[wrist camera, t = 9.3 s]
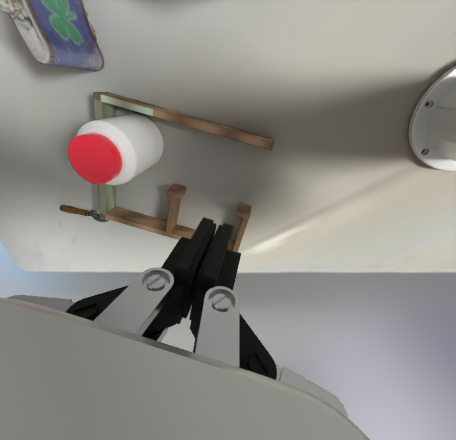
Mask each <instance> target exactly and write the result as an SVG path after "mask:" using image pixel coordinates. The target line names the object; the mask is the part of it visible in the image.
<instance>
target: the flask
mask: <svg viewBox="0 0 456 440" xmlns="http://www.w3.org/2000/svg"><path fill="white" fill-rule="evenodd" d="M83 2H84V1H83V0H0V10H1V11H3V12H6V13H8V15H10V16H11V18H12V20H13V22H14V24H15V25H16V27H17V30H18V32H19V33H20V35H21V36H22V38H23V40H24V41H25V43H26V45H27V47H28V49H29V50H30V51H31V53H32V55H33V56H34V58H35V59H36V60H37V61H38V62H40V63H41V64H44V65H52V66H63V67H71V68H80V69H88V70H94V71H98V70H101V69H102V68H103V67H104V62H103V56H102V52H101V50H100V49H99V47H98V44H97V40H96V36H95V31H94V30H93V27H92V25H90V23H89V21H88V19H87V15H88V14H87V12H86V11H85V9H84V6H83Z"/></svg>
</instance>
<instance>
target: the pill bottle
mask: <svg viewBox="0 0 456 440" xmlns="http://www.w3.org/2000/svg"><path fill="white" fill-rule="evenodd" d="M163 149H164V143H163V138H162V135H161V133H160V131H159V129H158V127H157V126H156V125H155V124H154V123H153V122H152V121H151V120H150V119H148V118H147V117H145V116H143V115H140V114H126V115H121V116H115V117H110V118H104V119H99V120H94V121H90V122H87V123H86V124H84V125H83V126H82V127H81V128H80V129H79V131H78V133H77V135H76V137H75V138H73V140H72V141H71V142H70V144H69V148H68V155H69V159H70V162H71V164H72V166H73V168H74V169H75V171H76V172H77V173H78V174H79V175H80V176H81V177H82V178H84V179H85V180H87V181H89V182H91V183H95V184H104V183H105V184H109V185H121V184H124V183H126V182H128V181H130V180H131V179H133V178H134V177H136V176H137V175H139V174H140V173H142V172H143V171H145V170H146V169H148V168H149V167H151V166H153V165H154V164H155V163H157V162H158V161H159V159H160V158H161V156H162V154H163Z"/></svg>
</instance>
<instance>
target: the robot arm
mask: <svg viewBox="0 0 456 440" xmlns="http://www.w3.org/2000/svg"><path fill="white" fill-rule="evenodd" d="M426 102H427V105H426V106H425V103H426ZM408 137H409V143H410V146H411V149H412V151H413V153H414V154H415V155H416V157H417V158H418V159H419V160H420V161H422V162H423V163H425V164H426V165H428V166H430V167H432V168H435V169H439V170H442V171H456V65H455V66H454V67H453V68H451V69H450V70H448V71H447V72H445V73H444V74H443V75H442V76H440V77H439V78H438V79H437V80H436V81H435V82H434V83H433V84H432V85H431V86H430V87H429V88H428V90H427V91H426V92H425V93H424V94H423V96H422V97H421V99H420V100H419V102H418V104H417V105H416V107H415V110H414V112H413V114H412V117H411V121H410V124H409V135H408ZM422 150H423V151H422ZM421 151H422V152H421ZM233 227H234V226H232V225H228V224H225V223H224V224H223V226H222V225H219V227H218V229H217V231H216V234H215V229H216V224H215V223H213V220H211V219H207V218H203V219H202V221H201V222H200V224H199V226H198V227H197V229H196V231H195V232H194V234H193V236H192V238H191V239H189V238H186V237H181V238H180V240H179V241H178V243H177V244H176V246H175V247H174V249H173V251H172V252H171V254H170V255H169V257H168V258H167V260H166V261H165V263H164V264H163V266H162V267H161V268H150V269H148V270H145V271H144V272H143V273H141V274H140V275H139V276H138V277H137V278H136V279H135V280H134V281H133V282H132V283H131V284H130V285H129V286H125V287H122V288H118V289H115V290H112V291H108V292H105V293H102V294H98V295H95V296H92V297H88V298H84V299H82V300H79V301H77V302H72V300H71V299H61V298H50V297H49V298H48V297H37V296H26V295H15V296H11V297H8V298H0V440H369V438H368V437H367V436H366V435H365V434H364V433H363V432H362V431H361V430H360V429H359V428H358V427H357V426H356V425H355V424H354V423H353V422H352V421H351V420H350V419H348V416H347V412H346V410H345V408H344V406H343V404H342V403H341V402H340V400H339V399H338V398H337V397H336V396H334V395H333V394H332V393H330V392H329V391H327V390H325V389H323V388H322V387H320V386H318V385H316V384H315V383H313V382H311V381H309V380H308V379H306V378H304V377H302V376H301V375H299V374H297V373H295V372H294V371H292V370H290V369H288V368H287V367H285V366H283V368H281V367H279V366H278V365H276V364H275V362H274V360H273V359H272V357H271V356H270V354H269V353H268V351H267V350H266V349H265V347H264V346H263V345H262V343H261V342H260V340H259V339H258V338H257V336H256V335H255V334H254V332H253V331H252V330H251V328H250V327H249V326H248V324H247V323H246V321H245V320H244V319H243V317H242V316H241V315H240V313H239V298H238V296H237V295H236V293H235V292H234V291H233V286H234V282H235V278H236V274H237V269H238V265H239V261H240V256H241V253H238V252H234V251H231V250H228V247H229V243H230V239H231V235H232V231H233ZM214 234H215V236H214ZM191 306H192V308H191ZM190 308H191V314H190V320H191V326H190V329H191V331H192V333H193V335H194V337H195V342H194V348H193V352H189V351H186V350H183V349H180V348H177V347H173V346H170V345H167V344H164V343H161V341H162V339H163V338H164V336H165V335H166V333H167V331H168V327H171V326H173V325H175V324H176V323H177V324H180V322H181V319H182V317H183V318H186V317H187V316H188V313H189V311H190Z"/></svg>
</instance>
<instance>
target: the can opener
mask: <svg viewBox="0 0 456 440" xmlns="http://www.w3.org/2000/svg"><path fill="white" fill-rule="evenodd" d="M60 210H61V211H64V212H68V213H74V214H80V215H84V216H92V217H93V218H94V219H95V220H97V221H101V222H106V221H109V220H104V219H105V218H103V217H100V214H94V212H96V211H94V210H92V211H91V212H89V211H87V210H81V209H77V208H74V207H70V206H64V205H62V206H61V207H60ZM96 213H97V212H96Z"/></svg>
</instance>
